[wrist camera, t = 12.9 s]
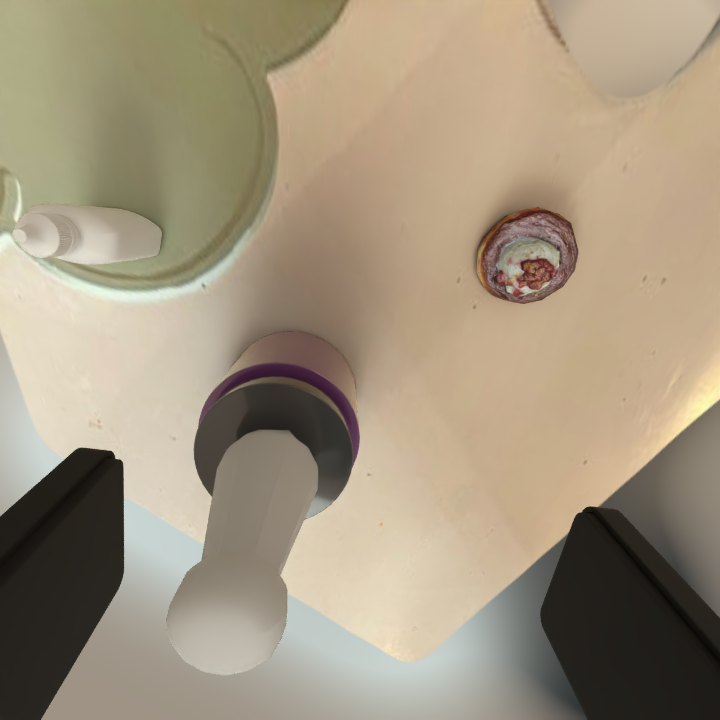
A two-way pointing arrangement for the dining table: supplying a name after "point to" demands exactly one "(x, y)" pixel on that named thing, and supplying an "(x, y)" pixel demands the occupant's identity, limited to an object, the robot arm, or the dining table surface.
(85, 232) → the eye dropper bottle
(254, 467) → the salt shaker
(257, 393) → the jar
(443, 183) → the dining table surface
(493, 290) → the pastry
